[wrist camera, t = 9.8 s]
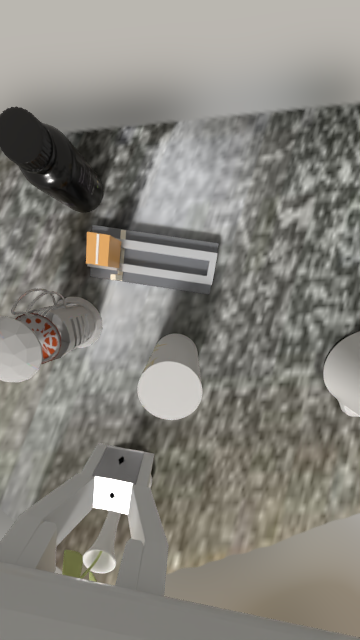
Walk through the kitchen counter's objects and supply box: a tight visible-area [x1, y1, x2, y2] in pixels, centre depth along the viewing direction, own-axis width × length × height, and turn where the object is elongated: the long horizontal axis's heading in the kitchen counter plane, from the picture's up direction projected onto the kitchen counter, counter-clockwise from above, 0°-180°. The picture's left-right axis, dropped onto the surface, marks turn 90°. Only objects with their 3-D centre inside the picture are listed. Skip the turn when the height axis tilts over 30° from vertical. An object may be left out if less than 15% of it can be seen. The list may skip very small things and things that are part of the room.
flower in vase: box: [62, 475, 152, 582], centre depth 29 cm, size 13×11×25 cm
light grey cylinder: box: [138, 333, 202, 420], centre depth 30 cm, size 8×8×12 cm
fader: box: [86, 232, 121, 268], centre depth 28 cm, size 3×4×6 cm
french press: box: [0, 289, 102, 382], centre depth 23 cm, size 10×12×25 cm
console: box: [87, 225, 219, 294], centre depth 30 cm, size 20×8×5 cm, turn 82°
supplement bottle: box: [0, 107, 103, 212], centre depth 24 cm, size 7×7×12 cm
